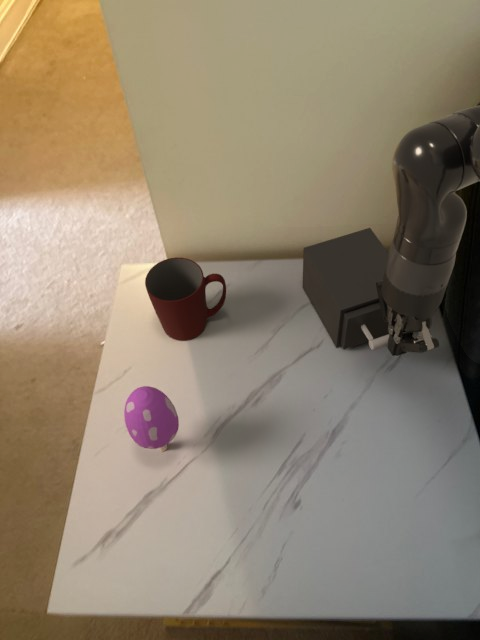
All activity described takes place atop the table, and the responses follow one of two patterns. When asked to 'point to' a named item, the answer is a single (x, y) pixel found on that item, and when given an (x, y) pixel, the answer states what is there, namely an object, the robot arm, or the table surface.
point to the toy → (150, 418)
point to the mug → (181, 296)
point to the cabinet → (343, 276)
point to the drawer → (365, 327)
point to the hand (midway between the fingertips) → (396, 350)
